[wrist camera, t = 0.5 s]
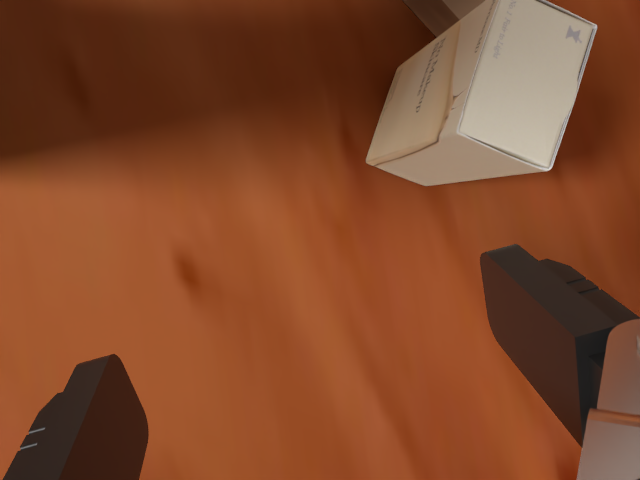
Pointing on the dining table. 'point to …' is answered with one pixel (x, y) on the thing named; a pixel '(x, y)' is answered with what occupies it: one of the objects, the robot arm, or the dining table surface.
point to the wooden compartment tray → (441, 12)
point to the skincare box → (485, 95)
